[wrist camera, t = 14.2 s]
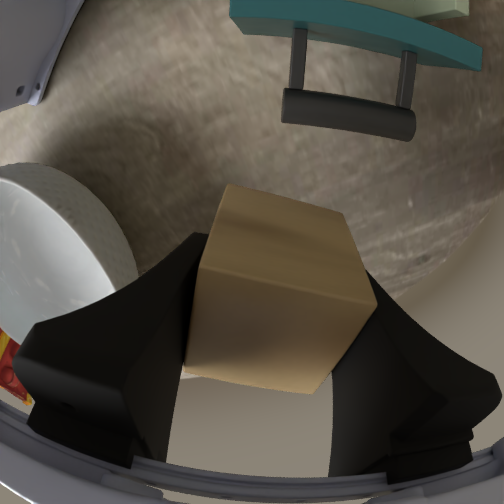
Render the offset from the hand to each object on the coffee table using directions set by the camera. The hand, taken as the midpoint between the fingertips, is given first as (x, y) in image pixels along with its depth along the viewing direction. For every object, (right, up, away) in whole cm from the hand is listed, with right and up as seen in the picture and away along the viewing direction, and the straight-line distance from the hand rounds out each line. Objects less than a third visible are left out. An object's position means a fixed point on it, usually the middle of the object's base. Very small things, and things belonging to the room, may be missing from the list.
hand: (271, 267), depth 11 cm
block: (0, +1, +1) cm, 1 cm away
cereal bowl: (-16, +2, +11) cm, 20 cm away
